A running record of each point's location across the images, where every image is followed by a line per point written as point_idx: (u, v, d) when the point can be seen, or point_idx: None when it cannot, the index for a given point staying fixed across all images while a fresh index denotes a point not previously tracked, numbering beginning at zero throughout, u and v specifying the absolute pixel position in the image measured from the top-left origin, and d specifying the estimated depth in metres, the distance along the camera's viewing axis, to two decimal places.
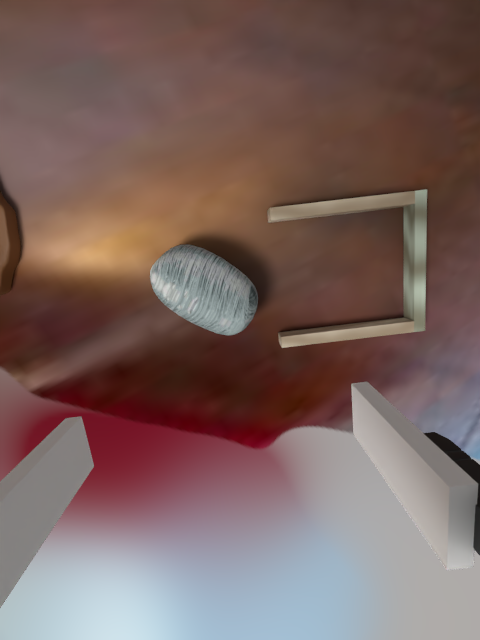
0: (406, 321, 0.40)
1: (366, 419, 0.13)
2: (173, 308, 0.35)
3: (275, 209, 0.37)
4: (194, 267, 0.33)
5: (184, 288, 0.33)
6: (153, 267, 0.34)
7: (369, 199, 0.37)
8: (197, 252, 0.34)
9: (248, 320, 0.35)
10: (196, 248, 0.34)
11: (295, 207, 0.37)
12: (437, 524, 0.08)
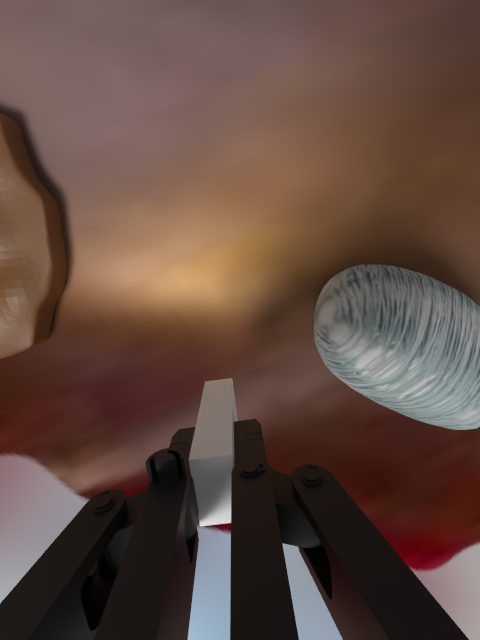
0: None
1: None
2: (363, 385, 0.19)
3: None
4: (434, 316, 0.16)
5: (411, 356, 0.16)
6: (336, 312, 0.18)
7: None
8: (426, 282, 0.17)
9: None
10: (416, 274, 0.18)
11: None
12: None
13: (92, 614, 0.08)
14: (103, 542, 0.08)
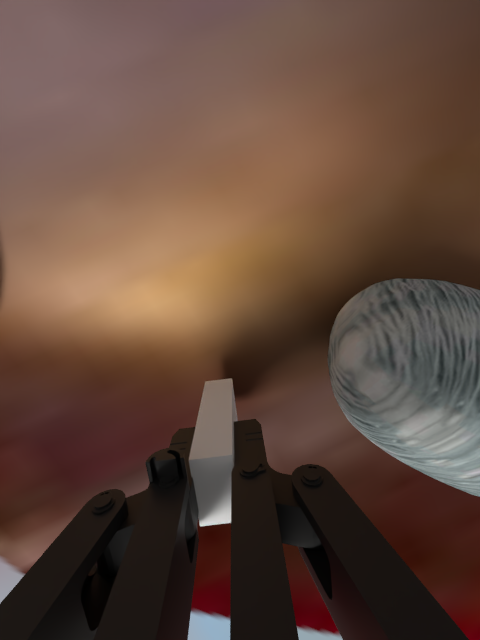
0: None
1: None
2: (405, 456, 0.13)
3: None
4: None
5: None
6: (368, 351, 0.12)
7: None
8: None
9: None
10: None
11: None
12: None
13: (92, 614, 0.08)
14: (103, 542, 0.08)
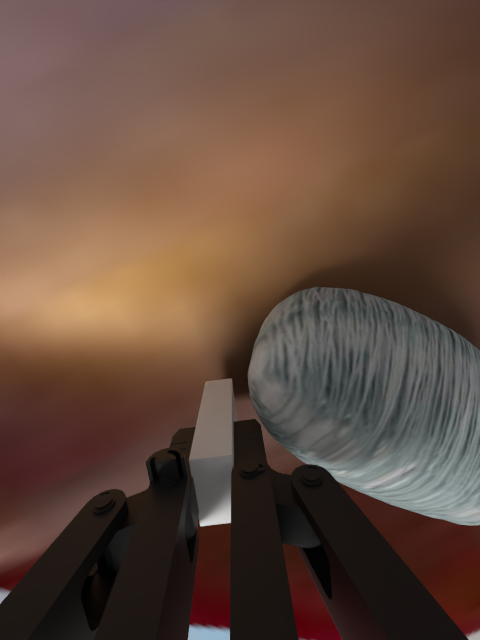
0: None
1: None
2: None
3: None
4: (411, 373, 0.10)
5: (377, 437, 0.11)
6: (268, 362, 0.12)
7: None
8: (400, 319, 0.11)
9: None
10: (387, 305, 0.12)
11: None
12: None
13: (92, 614, 0.08)
14: (103, 542, 0.08)
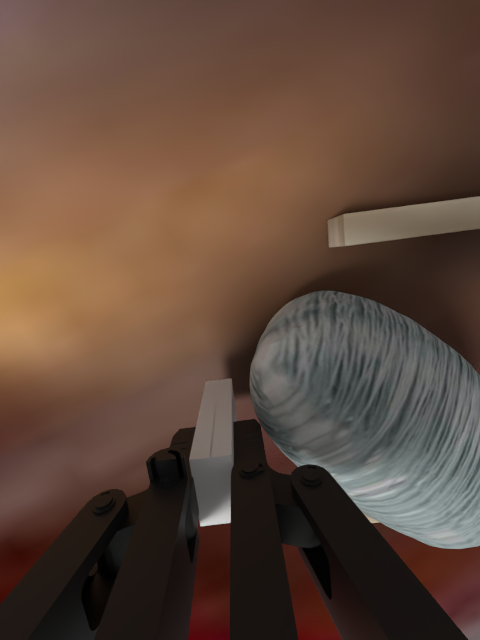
0: None
1: None
2: None
3: (358, 217, 0.14)
4: (418, 388, 0.11)
5: (374, 444, 0.11)
6: (277, 354, 0.12)
7: None
8: (414, 334, 0.12)
9: None
10: (402, 318, 0.12)
11: (409, 212, 0.14)
12: None
13: (93, 614, 0.08)
14: (104, 542, 0.08)
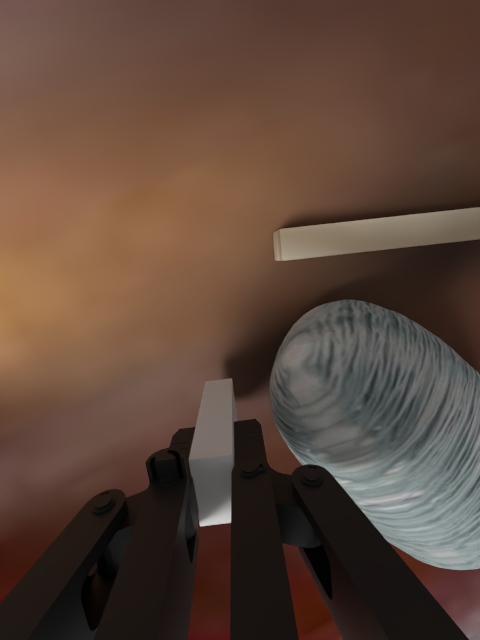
0: None
1: None
2: None
3: (295, 233, 0.14)
4: (447, 406, 0.11)
5: (397, 456, 0.11)
6: (310, 355, 0.12)
7: None
8: (446, 353, 0.12)
9: None
10: (434, 337, 0.12)
11: (346, 228, 0.14)
12: None
13: (92, 614, 0.08)
14: (103, 542, 0.08)
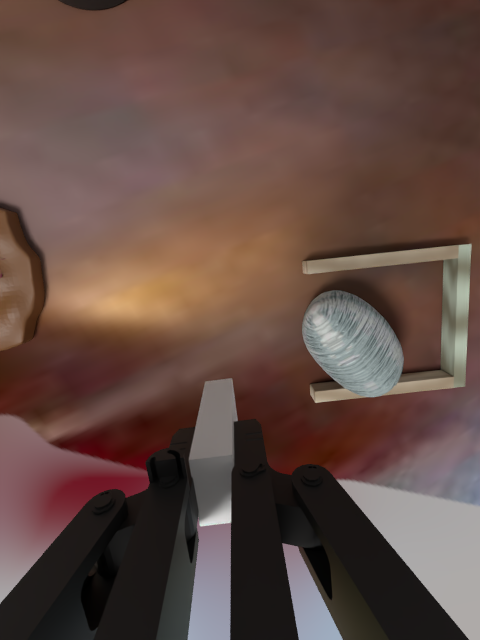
0: (445, 376, 0.39)
1: None
2: (321, 354, 0.33)
3: (313, 262, 0.35)
4: (367, 324, 0.31)
5: (350, 341, 0.31)
6: (320, 308, 0.32)
7: (411, 253, 0.35)
8: (369, 308, 0.32)
9: None
10: (366, 303, 0.33)
11: (334, 261, 0.35)
12: None
13: (92, 614, 0.08)
14: (103, 542, 0.08)
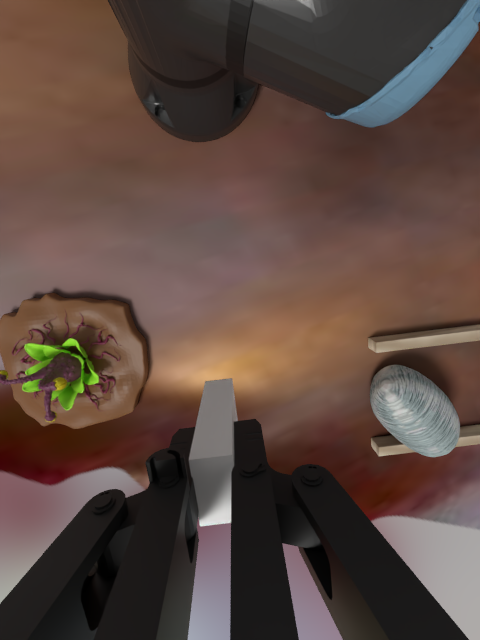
0: None
1: None
2: (391, 423, 0.40)
3: (381, 343, 0.41)
4: (433, 402, 0.38)
5: (419, 417, 0.38)
6: (392, 387, 0.39)
7: (464, 334, 0.41)
8: (432, 386, 0.39)
9: None
10: (429, 381, 0.39)
11: (399, 341, 0.41)
12: None
13: (92, 614, 0.08)
14: (103, 542, 0.08)
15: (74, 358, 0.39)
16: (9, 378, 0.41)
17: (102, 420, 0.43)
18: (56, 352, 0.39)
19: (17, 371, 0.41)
